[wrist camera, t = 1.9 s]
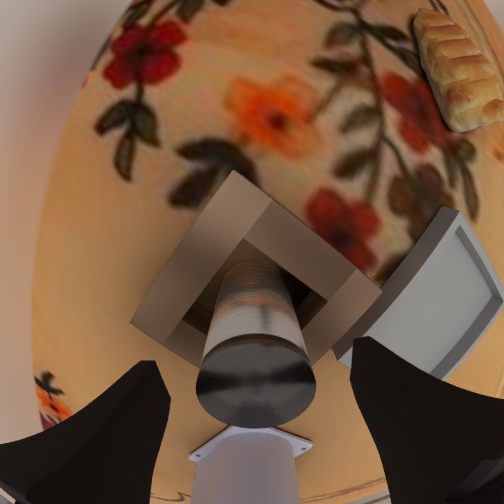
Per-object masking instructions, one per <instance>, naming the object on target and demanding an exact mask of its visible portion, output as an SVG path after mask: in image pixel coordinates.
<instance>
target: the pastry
mask: <svg viewBox="0 0 504 504" xmlns="http://www.w3.org/2000/svg"><path fill="white" fill-rule="evenodd" d="M413 28H414V34H415V36H416V38H417V40H418V48H419V52H420V63H421V67H422V69H423V70H424V71H425V72H426V75H427V79H428V81H429V83H430V86H431V88H432V91H433V95H434V98H435V100H436V103H437V105H438V107H439V110H440V112H441V114H442V116H443V118H444V121H445V122H446V124H447V125H448V126H449V127H450V129H451V130H453V131H454V132H464V131H469V130H473V129H474V128H476V127H478V126H486V125H488V124H492V123H496V122H501V121H503V120H504V102H503V97H502V94H501V91H500V88H499V83H498V80H497V78H496V76H495V73H494V69H493V67H492V65H491V63H490V62H489V61H488V60H487V59H486V58H485V57H484V56H483V55H482V54H481V52H480V51H479V50H478V49H477V47H476V46H475V45H474V44H473V42H472V41H471V39H470V37H469V35H468V34H467V33H466V32H465V31H463V30H462V29H461V27H460V26H459V25H458V24H457V23H455V22H454V21H453V20H452V19H451V18H450V17H449V16H447V15H446V14H443V13H441V12H438V11H434V10H429V9H427V8H420V9H419V10H418V12H417V14H416V17H415V19H414V21H413Z"/></svg>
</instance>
